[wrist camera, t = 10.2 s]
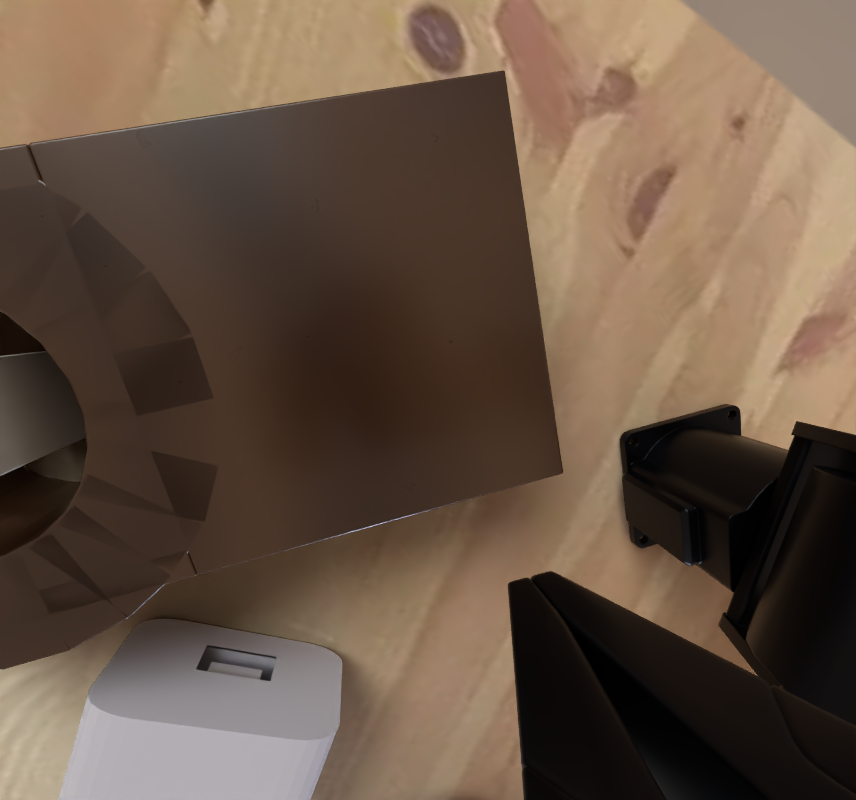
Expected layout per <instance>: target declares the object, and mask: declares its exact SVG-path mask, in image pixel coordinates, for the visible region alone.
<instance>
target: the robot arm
mask: <svg viewBox="0 0 856 800" xmlns="http://www.w3.org/2000/svg"><path fill="white" fill-rule="evenodd" d="M728 413H729V415H728ZM727 416H728V417H727ZM791 435H794V438H793V440H792V443H791V446H790V448H789V450H786V449H783V448H780V447H776V446H773V445H770V444H767V443H763V442H760V441H757V440H754V439H750V438H747V437H744V436H741V416H740V409H739V408H738V407H736V406H733V405H729V404H724V405H720V406H717V407H713V408H709V409H706V410H702V411H698V412H695V413H691V414H687V415H684V416H680V417H676V418H673V419H669V420H665V421H662V422H658V423H654V424H650V425H647V426H643V427H639V428H636V429H632V430H628V431H626V432H624V433H623V434H622V436H621V438H620V448H621V457H622V466H623V477H622V483H623V492H624V501H625V511H626V519H627V521H628V522H629V531H630V539H631V541H632V542H633V543H634V544H635V545H636V546H637V547H639V548H645V547H649V546H652V545H655V544H659V545H660V546H661V547H663V548H664V549H665V550H667V551H668V552H669V553H671V554H672V555H673V556H675V557H676V558H677V559H679V560H680V561H681V562H683V563H684V564H686V565H688V566H693V565H697V566H698V567H699V568H701V569H702V570H704V571H705V572H706V573H708V574H709V575H710V576H712V577H713V578H714V579H716V580H717V581H719V582H720V583H721V584H723V585H724V586H725V587H727V588H728V589H729V590H731V591H732V592H734V594H733V597H732V599H731V602H730V604H729V607H728V610H727V612H726V613H723V614H722V617H721V620H720V622H719V627H720V628H721V629H722V631H723V632H724V633H725V635H726V636H727V637H728V638H729V640H730V641H731V642H732V643H733V645H734V646H735V647H736V649H737V650H738V651H739V652H740V654H741V655H742V656H743V657H744V659H745V660H746V661H747V663H748V664H749V665H750V666H751V668H752V669H753V670H754V671H755V673H756V674H757V675H758V676H756V675H754V674H752V673H750V672H748V671H746V670H744V669H742V668H740V667H739V666H737V665H735V664H733V663H731V662H729V661H727V660H725V659H723V658H721V657H719V656H717V655H715V654H713V653H711V652H709V651H707V650H705V649H703V648H701V647H699V646H697V645H696V644H694V643H692V642H690V641H688V640H686V639H684V638H682V637H680V636H678V635H676V634H674V633H672V632H670V631H668V630H666V629H664V628H662V627H660V626H658V625H656V624H655V623H653V622H651V621H649V620H647V619H645V618H643V617H641V616H639V615H637V614H635V613H633V612H631V611H629V610H627V609H625V608H623V607H621V606H619V605H617V604H615V603H614V602H612V601H610V600H608V599H606V598H604V597H602V596H600V595H598V594H596V593H594V592H592V591H590V590H588V589H586V588H584V587H582V586H580V585H578V584H576V583H574V582H573V581H571V580H569V579H567V578H565V577H563V576H561V575H559V574H557V573H555V572H552V571H549V572H545V573H541V574H537V575H534V576H532V577H531V579H530V578H523V579H519V580H515V581H512V582H510V583H509V584H508V594H509V607H510V620H511V633H512V646H513V659H514V672H515V685H516V698H517V711H518V724H519V737H520V750H521V763H522V769H523V770H522V781H523V794H524V800H856V435H854V434H849V433H845V432H841V431H837V430H832V429H828V428H824V427H819V426H815V425H811V424H807V423H802V422H798V421H796V424H795V426H794V429H793V432H792V434H791ZM632 438H634V439H633V442H632V443H631V444H629V442H630V440H631V439H632ZM641 536H643V537H642V538H641V539H640V537H641Z"/></svg>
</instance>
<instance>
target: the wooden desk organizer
mask: <svg viewBox="0 0 856 800" xmlns="http://www.w3.org/2000/svg"><path fill="white" fill-rule="evenodd" d="M0 312H2V313H4V314H6V315H7V316H8V317H10V318H11V319H12V320H13V321H15V322H16V323H17V324H18V325H19V326H21V327H22V328H23V329H24V330H26V331H27V332H28V333H29V334H30V335H32V336H33V337H34V338H35V339H36V340H38V341H39V342H40V343H41V344H42V345H43V347H44V348H45V349H46V351H47V352H48V353H49V355H50V356H51V357H52V358H53V360H54V361H55V362H56V364H57V365H58V366H59V368H60V369H61V370H62V371H63V373H64V374H65V375H66V377H67V378H68V379H69V381H70V384H71V386H72V388H73V391H74V393H75V395H76V398H77V400H78V403H79V405H80V407H81V410H82V412H83V415H84V424H85V433H86V441H87V453H86V458H85V463H84V468H83V473H82V478H81V482H66V481H61V480H56V479H51V478H46V477H42V476H40V475H38V474H35V473H33V472H31V471H28V470H26V469H24V468H21V467H19V468H17V469H14V470H12V471H10V472H8V473H5V474H3V475H1V476H0V670H1V669H6V668H10V667H13V666H17V665H20V664H24V663H27V662H31V661H34V660H37V659H41V658H44V657H48V656H51V655H55V654H58V653H62V652H65V651H69V650H70V649H71V648H74V647H76V646H78V645H80V644H82V643H83V642H85V641H87V640H89V639H91V638H93V637H94V636H96V635H98V634H100V633H102V632H103V631H105V630H107V629H109V628H111V627H113V626H114V625H116V624H118V623H120V622H122V621H123V620H125V619H127V618H128V617H130V616H132V615H133V614H134V613H135V612H136V611H137V610H138V609H139V608H140V607H141V606H142V605H144V604H145V603H146V602H147V601H148V600H149V599H150V598H151V597H152V596H153V595H154V594H155V593H156V592H157V591H158V590H160V589H161V588H162V587H163V586H164V585H165V584H168V583H172V582H175V581H179V580H183V579H186V578H190V577H193V576H196V575H197V574H198V575H200V574H204V573H208V572H211V571H215V570H218V569H222V568H225V567H229V566H233V565H236V564H240V563H243V562H247V561H251V560H254V559H258V558H261V557H265V556H268V555H272V554H276V553H279V552H283V551H286V550H290V549H294V548H297V547H301V546H304V545H308V544H311V543H315V542H319V541H322V540H326V539H329V538H333V537H336V536H340V535H344V534H347V533H351V532H354V531H358V530H362V529H365V528H369V527H372V526H376V525H379V524H383V523H387V522H390V521H394V520H397V519H401V518H405V517H408V516H412V515H415V514H419V513H422V512H426V511H430V510H433V509H437V508H440V507H444V506H448V505H451V504H455V503H458V502H462V501H465V500H469V499H473V498H476V497H480V496H483V495H487V494H490V493H494V492H498V491H501V490H505V489H508V488H512V487H516V486H519V485H523V484H526V483H530V482H533V481H537V480H541V479H544V478H548V477H551V476H555V475H559V474H562V473H563V469H562V462H561V455H560V448H559V441H558V435H557V428H556V421H555V414H554V407H553V400H552V393H551V386H550V380H549V373H548V366H547V359H546V352H545V345H544V338H543V331H542V325H541V318H540V311H539V304H538V297H537V290H536V283H535V276H534V270H533V263H532V256H531V249H530V242H529V235H528V228H527V221H526V215H525V208H524V201H523V194H522V187H521V180H520V173H519V166H518V160H517V153H516V146H515V139H514V132H513V125H512V118H511V111H510V105H509V98H508V91H507V84H506V77H505V72H504V71H497V72H491V73H484V74H478V75H471V76H465V77H458V78H452V79H445V80H439V81H432V82H426V83H419V84H413V85H406V86H400V87H393V88H387V89H380V90H373V91H367V92H360V93H354V94H347V95H341V96H334V97H328V98H321V99H315V100H308V101H302V102H295V103H289V104H282V105H276V106H269V107H263V108H256V109H250V110H243V111H237V112H230V113H224V114H217V115H211V116H204V117H197V118H191V119H184V120H178V121H171V122H165V123H158V124H152V125H145V126H139V127H132V128H126V129H119V130H113V131H106V132H100V133H93V134H87V135H80V136H74V137H67V138H61V139H54V140H48V141H41V142H35V143H30V144H29V145H26V144H23V145H16V146H10V147H3V148H0Z"/></svg>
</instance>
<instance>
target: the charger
mask: <svg viewBox="0 0 856 800" xmlns="http://www.w3.org/2000/svg"><path fill="white" fill-rule="evenodd" d="M341 683H342V661H341V658H340V657H339V656H338V655H337V654H336V653H334V652H332V651H331V650H329V649H326V648H324V647H321V646H318V645H314V644H310V643H305V642H300V641H294V640H289V639H283V638H278V637H273V636H267V635H262V634H256V633H251V632H245V631H240V630H234V629H229V628H223V627H218V626H212V625H207V624H202V623H196V622H191V621H185V620H177V619H154V620H148V621H145V622H142V623H139V624H138V625H137V626H135V627H134V629H133V630H132V631H131V633H130V634H129V635H128V637H127V638H126V640H125V641H124V642H123V644H122V645H121V646H120V648H119V649H118V651H117V652H116V653H115V655H114V656H113V657H112V659H111V660H110V662H109V663H108V664H107V666H106V667H105V668H104V670H103V671H102V673H101V674H100V675H99V677H98V678H97V679H96V681H95V682H94V684H93V685H92V686H91V688H90V690H89V693H88V696H87V700H86V703H85V707H84V710H83V714H82V718H81V721H80V725H79V728H78V732H77V735H76V739H75V743H74V746H73V750H72V753H71V757H70V760H69V764H68V767H67V771H66V775H65V778H64V782H63V785H62V789H61V792H60V796H59V799H58V800H311V797H312V795H313V792H314V790H315V787H316V784H317V782H318V779H319V776H320V774H321V771H322V769H323V766H324V763H325V761H326V758H327V755H328V753H329V750H330V748H331V745H332V742H333V740H334V737H335V734H336V732H337V729H338V727H339V724H340V703H341Z"/></svg>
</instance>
